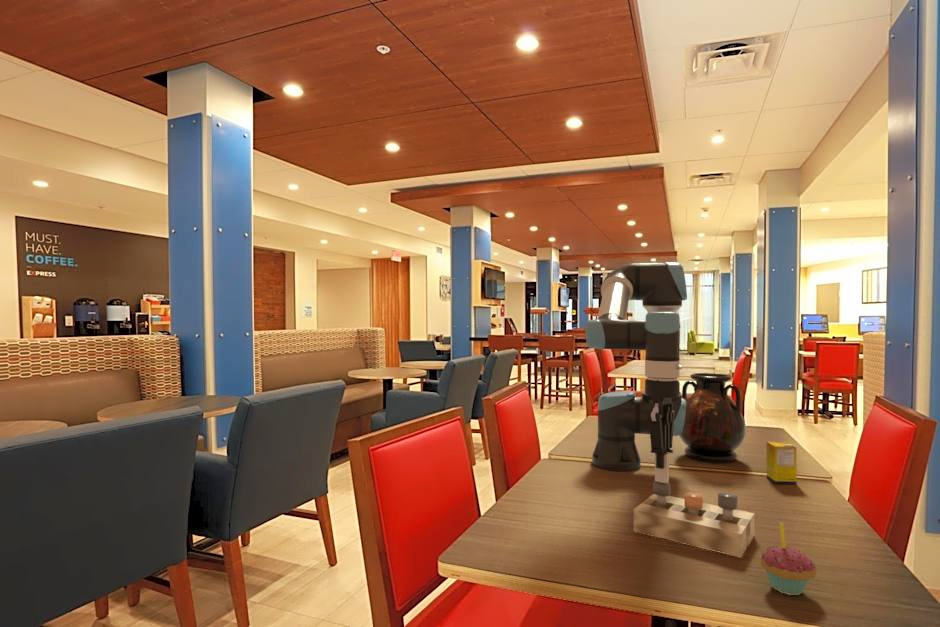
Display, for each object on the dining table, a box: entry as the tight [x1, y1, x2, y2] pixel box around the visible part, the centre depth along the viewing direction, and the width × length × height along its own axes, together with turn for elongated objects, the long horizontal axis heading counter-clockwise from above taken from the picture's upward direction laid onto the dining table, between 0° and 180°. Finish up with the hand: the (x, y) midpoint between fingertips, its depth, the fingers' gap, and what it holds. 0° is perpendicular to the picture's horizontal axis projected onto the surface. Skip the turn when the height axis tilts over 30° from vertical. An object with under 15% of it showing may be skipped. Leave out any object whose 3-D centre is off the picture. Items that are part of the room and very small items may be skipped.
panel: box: [633, 493, 755, 556], centre depth 121 cm, size 22×14×5 cm, turn 53°
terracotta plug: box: [683, 492, 704, 516], centre depth 121 cm, size 4×4×5 cm
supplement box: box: [766, 441, 798, 485], centre depth 158 cm, size 6×6×11 cm
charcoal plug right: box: [717, 492, 739, 521], centre depth 116 cm, size 4×4×5 cm
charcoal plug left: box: [652, 480, 672, 506], centre depth 125 cm, size 4×4×5 cm
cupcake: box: [760, 517, 817, 594], centre depth 96 cm, size 9×8×12 cm
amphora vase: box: [678, 372, 747, 463], centre depth 184 cm, size 22×22×28 cm
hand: (661, 481), depth 125 cm, fingers closed
